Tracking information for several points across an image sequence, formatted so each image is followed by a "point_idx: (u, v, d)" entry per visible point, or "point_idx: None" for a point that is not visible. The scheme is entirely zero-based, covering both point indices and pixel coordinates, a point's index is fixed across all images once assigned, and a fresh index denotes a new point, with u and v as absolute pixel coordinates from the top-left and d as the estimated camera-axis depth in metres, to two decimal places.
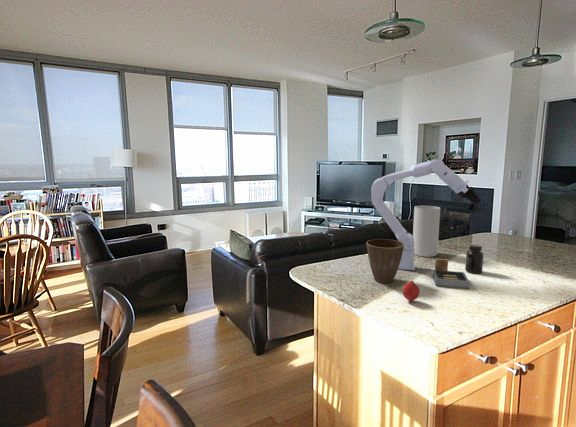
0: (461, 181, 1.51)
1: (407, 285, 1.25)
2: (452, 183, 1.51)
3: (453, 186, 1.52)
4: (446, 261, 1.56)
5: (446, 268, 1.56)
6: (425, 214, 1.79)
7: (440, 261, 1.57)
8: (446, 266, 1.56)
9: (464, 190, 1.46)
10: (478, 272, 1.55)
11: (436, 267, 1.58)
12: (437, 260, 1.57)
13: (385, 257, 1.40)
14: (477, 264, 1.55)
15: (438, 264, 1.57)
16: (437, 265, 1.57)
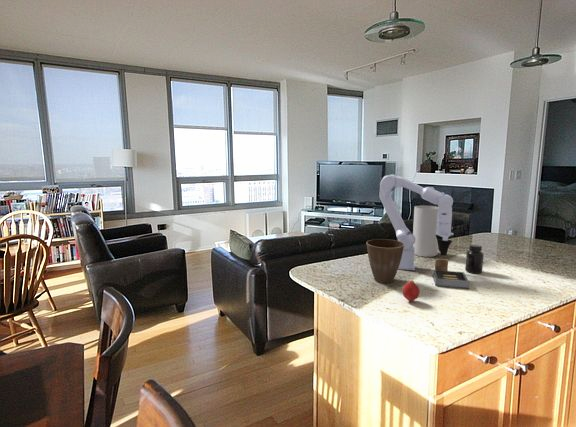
0: (449, 230, 1.52)
1: (407, 285, 1.25)
2: (442, 225, 1.52)
3: (440, 228, 1.53)
4: (446, 261, 1.56)
5: (446, 268, 1.56)
6: (425, 214, 1.79)
7: (440, 261, 1.57)
8: (446, 266, 1.56)
9: (444, 238, 1.49)
10: (478, 272, 1.55)
11: (436, 267, 1.58)
12: (437, 260, 1.57)
13: (385, 257, 1.40)
14: (477, 264, 1.55)
15: (437, 264, 1.57)
16: (437, 265, 1.57)
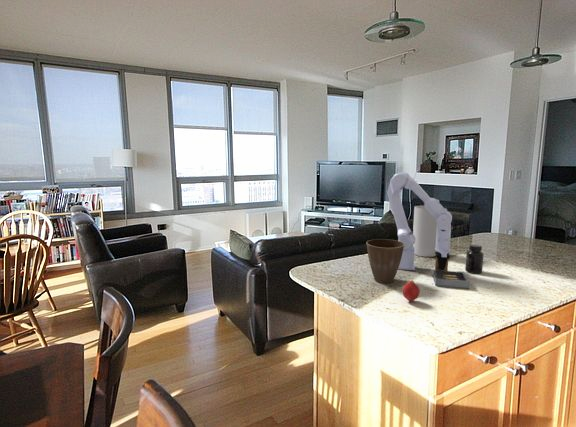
0: (448, 246, 1.54)
1: (407, 285, 1.25)
2: (441, 241, 1.54)
3: (439, 244, 1.54)
4: None
5: (446, 268, 1.56)
6: (425, 214, 1.79)
7: None
8: (446, 266, 1.56)
9: (443, 255, 1.50)
10: (478, 272, 1.55)
11: (436, 267, 1.58)
12: (437, 260, 1.57)
13: (385, 257, 1.40)
14: (477, 264, 1.55)
15: None
16: (437, 265, 1.57)
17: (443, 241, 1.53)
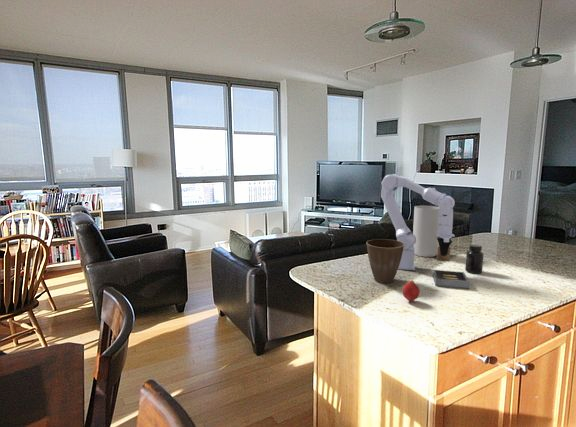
0: (450, 231, 1.51)
1: (407, 285, 1.25)
2: (443, 226, 1.51)
3: (441, 229, 1.52)
4: (448, 249, 1.54)
5: (448, 256, 1.54)
6: (425, 214, 1.79)
7: None
8: (448, 254, 1.54)
9: (446, 240, 1.47)
10: (478, 272, 1.55)
11: (438, 255, 1.55)
12: (439, 248, 1.55)
13: (385, 257, 1.40)
14: (477, 264, 1.55)
15: None
16: (439, 253, 1.55)
17: (445, 226, 1.51)
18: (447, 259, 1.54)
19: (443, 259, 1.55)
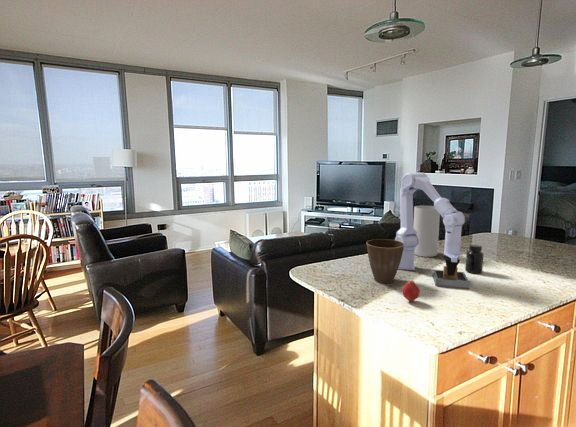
0: (458, 250, 1.40)
1: (407, 285, 1.25)
2: (450, 245, 1.40)
3: (448, 247, 1.41)
4: None
5: (455, 276, 1.43)
6: (425, 214, 1.79)
7: None
8: (455, 274, 1.43)
9: (453, 259, 1.37)
10: (478, 272, 1.55)
11: (444, 275, 1.45)
12: (445, 268, 1.44)
13: (385, 257, 1.40)
14: (477, 264, 1.55)
15: (446, 272, 1.44)
16: (446, 273, 1.44)
17: (453, 244, 1.40)
18: None
19: None
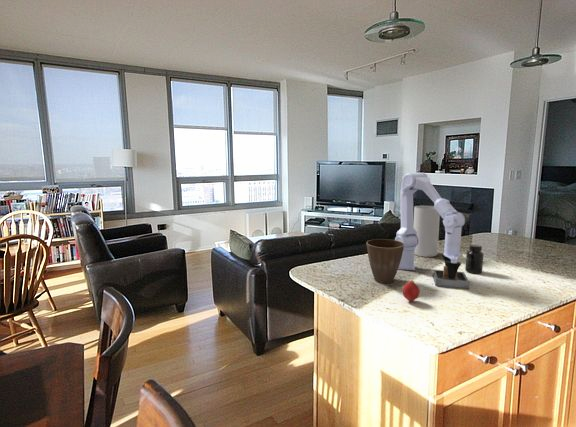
0: (458, 251, 1.40)
1: (407, 285, 1.25)
2: (450, 246, 1.41)
3: (448, 248, 1.41)
4: None
5: (455, 276, 1.43)
6: (425, 214, 1.79)
7: None
8: None
9: (453, 261, 1.37)
10: (478, 272, 1.55)
11: (444, 275, 1.45)
12: (445, 268, 1.44)
13: (385, 257, 1.40)
14: (477, 264, 1.55)
15: (446, 272, 1.44)
16: (446, 273, 1.44)
17: (453, 245, 1.40)
18: None
19: None
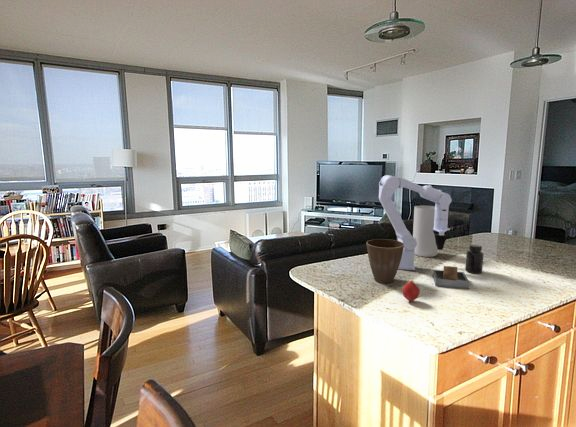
0: (445, 225, 1.60)
1: (407, 285, 1.25)
2: (438, 221, 1.60)
3: (437, 223, 1.60)
4: (455, 269, 1.43)
5: (455, 276, 1.43)
6: (425, 214, 1.79)
7: (449, 269, 1.44)
8: (455, 274, 1.43)
9: (441, 233, 1.56)
10: (478, 272, 1.55)
11: (444, 275, 1.45)
12: (445, 268, 1.44)
13: (385, 257, 1.40)
14: (477, 264, 1.55)
15: (446, 272, 1.44)
16: (446, 273, 1.44)
17: (441, 220, 1.59)
18: None
19: None
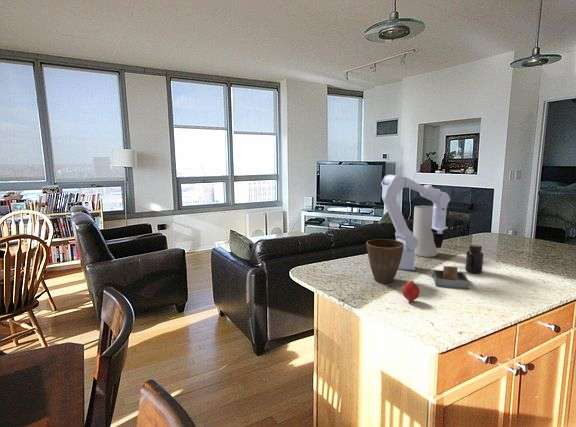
0: (443, 224, 1.63)
1: (407, 285, 1.25)
2: (437, 219, 1.63)
3: (435, 222, 1.64)
4: (455, 269, 1.43)
5: (455, 276, 1.43)
6: (425, 214, 1.79)
7: (449, 269, 1.44)
8: (455, 274, 1.43)
9: (439, 231, 1.59)
10: (478, 272, 1.55)
11: (444, 275, 1.45)
12: (445, 268, 1.44)
13: (385, 257, 1.40)
14: (477, 264, 1.55)
15: (446, 272, 1.44)
16: (446, 273, 1.44)
17: (439, 219, 1.62)
18: None
19: None
